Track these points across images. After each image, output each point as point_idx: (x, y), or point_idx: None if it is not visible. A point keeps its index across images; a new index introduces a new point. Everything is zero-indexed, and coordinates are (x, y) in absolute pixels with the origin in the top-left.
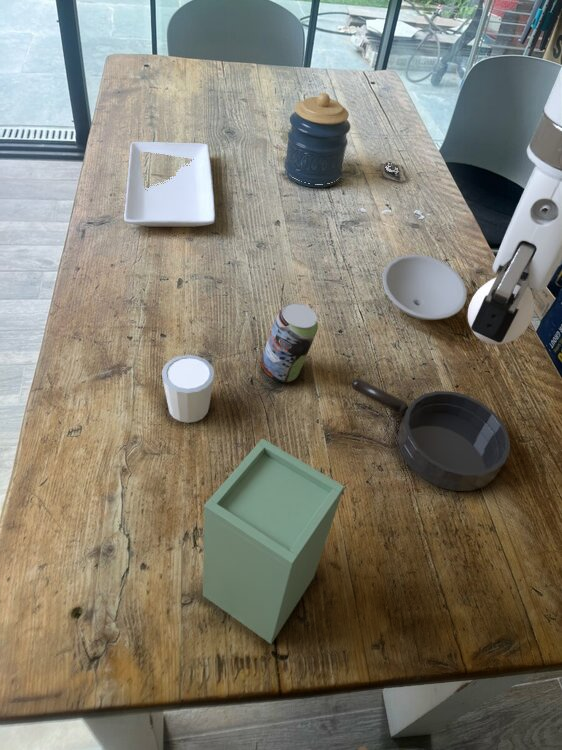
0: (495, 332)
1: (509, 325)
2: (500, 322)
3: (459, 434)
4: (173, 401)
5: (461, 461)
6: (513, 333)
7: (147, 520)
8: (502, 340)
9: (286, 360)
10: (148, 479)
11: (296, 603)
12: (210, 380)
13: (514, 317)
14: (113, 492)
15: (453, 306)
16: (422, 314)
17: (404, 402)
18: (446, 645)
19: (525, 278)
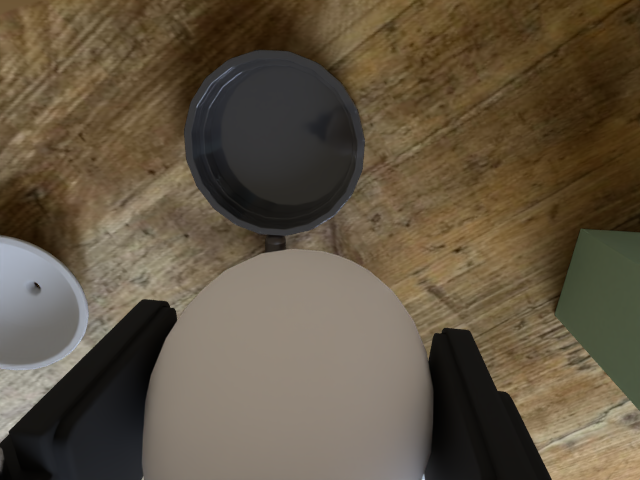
0: (511, 405)
1: (503, 404)
2: (539, 461)
3: (246, 136)
4: None
5: (295, 116)
6: (400, 308)
7: (581, 406)
8: (470, 334)
9: None
10: (531, 428)
11: (632, 233)
12: (423, 476)
13: (524, 452)
14: (562, 445)
15: (2, 245)
16: (72, 287)
17: (270, 243)
18: (615, 30)
19: (90, 458)
